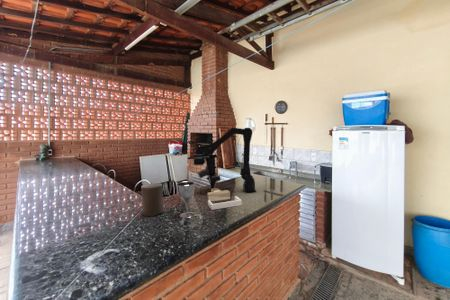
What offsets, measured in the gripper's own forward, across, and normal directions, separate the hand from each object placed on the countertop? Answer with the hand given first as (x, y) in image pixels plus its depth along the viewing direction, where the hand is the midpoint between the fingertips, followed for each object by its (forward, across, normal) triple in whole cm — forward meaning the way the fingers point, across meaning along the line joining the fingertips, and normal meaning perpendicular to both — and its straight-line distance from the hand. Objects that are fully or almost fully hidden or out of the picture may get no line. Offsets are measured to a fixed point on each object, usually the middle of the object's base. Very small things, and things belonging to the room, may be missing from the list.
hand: (212, 189), depth 131 cm
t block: (+2, +11, 0) cm, 11 cm away
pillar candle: (+2, +20, -35) cm, 41 cm away
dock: (+2, +24, 0) cm, 24 cm away
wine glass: (+2, +30, -20) cm, 36 cm away
